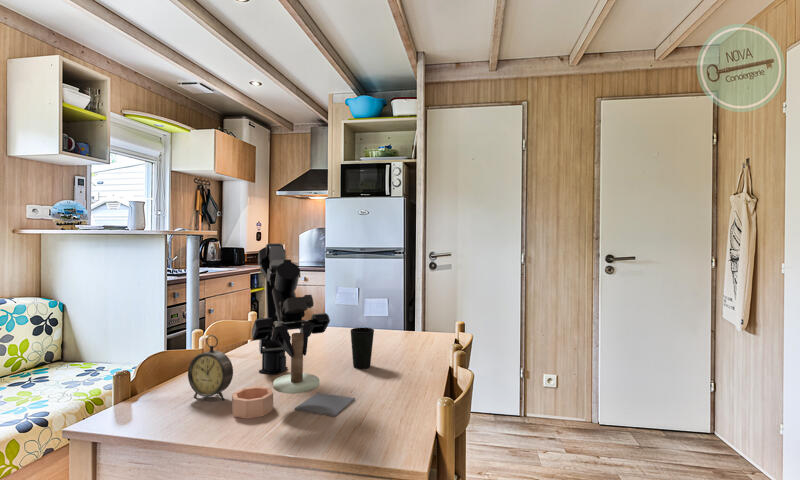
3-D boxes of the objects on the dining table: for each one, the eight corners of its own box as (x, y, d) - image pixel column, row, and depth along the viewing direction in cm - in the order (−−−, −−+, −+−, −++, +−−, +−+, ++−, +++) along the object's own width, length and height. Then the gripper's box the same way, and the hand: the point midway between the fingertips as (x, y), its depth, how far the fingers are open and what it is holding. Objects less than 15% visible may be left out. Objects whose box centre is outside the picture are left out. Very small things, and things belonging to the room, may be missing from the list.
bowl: (224, 414, 98) (224, 397, 98) (249, 400, 106) (249, 385, 106) (256, 420, 95) (256, 402, 95) (279, 405, 103) (279, 389, 103)
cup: (369, 370, 132) (370, 333, 132) (346, 369, 133) (347, 331, 133) (376, 363, 139) (376, 328, 139) (354, 362, 141) (354, 326, 141)
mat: (294, 409, 101) (294, 408, 101) (317, 394, 111) (317, 392, 111) (335, 416, 98) (335, 414, 98) (354, 399, 108) (354, 397, 108)
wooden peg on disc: (263, 388, 99) (264, 336, 99) (293, 374, 109) (294, 327, 109) (300, 396, 95) (301, 342, 94) (328, 381, 105) (329, 332, 104)
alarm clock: (186, 398, 107) (187, 335, 107) (201, 391, 112) (202, 331, 112) (222, 403, 104) (223, 339, 104) (236, 396, 109) (237, 334, 109)
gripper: (255, 285, 100) (265, 342, 91) (328, 282, 110) (344, 333, 101) (247, 312, 107) (256, 367, 98) (316, 307, 117) (331, 357, 107)
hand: (298, 355), depth 101 cm, fingers closed on wooden peg on disc, 3 cm apart
